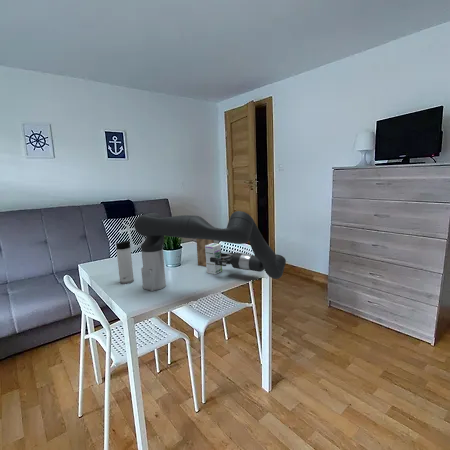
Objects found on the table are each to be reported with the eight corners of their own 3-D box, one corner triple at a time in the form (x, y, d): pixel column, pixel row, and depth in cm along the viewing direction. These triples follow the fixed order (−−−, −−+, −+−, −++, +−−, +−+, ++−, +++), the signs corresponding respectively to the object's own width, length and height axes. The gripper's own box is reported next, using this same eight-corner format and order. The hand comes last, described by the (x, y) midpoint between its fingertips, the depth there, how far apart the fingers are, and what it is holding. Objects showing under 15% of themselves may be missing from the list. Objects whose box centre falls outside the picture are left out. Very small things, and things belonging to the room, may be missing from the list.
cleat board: (214, 268, 148) (212, 235, 145) (197, 265, 154) (196, 233, 151) (228, 261, 160) (226, 230, 157) (212, 258, 166) (211, 228, 163)
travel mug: (126, 285, 129) (122, 243, 126) (117, 282, 133) (112, 241, 129) (137, 280, 135) (133, 240, 131) (128, 278, 138) (124, 239, 135)
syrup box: (215, 274, 138) (213, 246, 136) (206, 272, 142) (204, 245, 140) (222, 271, 143) (221, 243, 140) (213, 269, 146) (212, 242, 144)
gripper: (250, 250, 137) (222, 246, 146) (235, 257, 125) (206, 253, 134) (250, 264, 138) (223, 260, 147) (236, 273, 127) (207, 268, 135)
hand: (215, 257), depth 141 cm, fingers open, 8 cm apart
